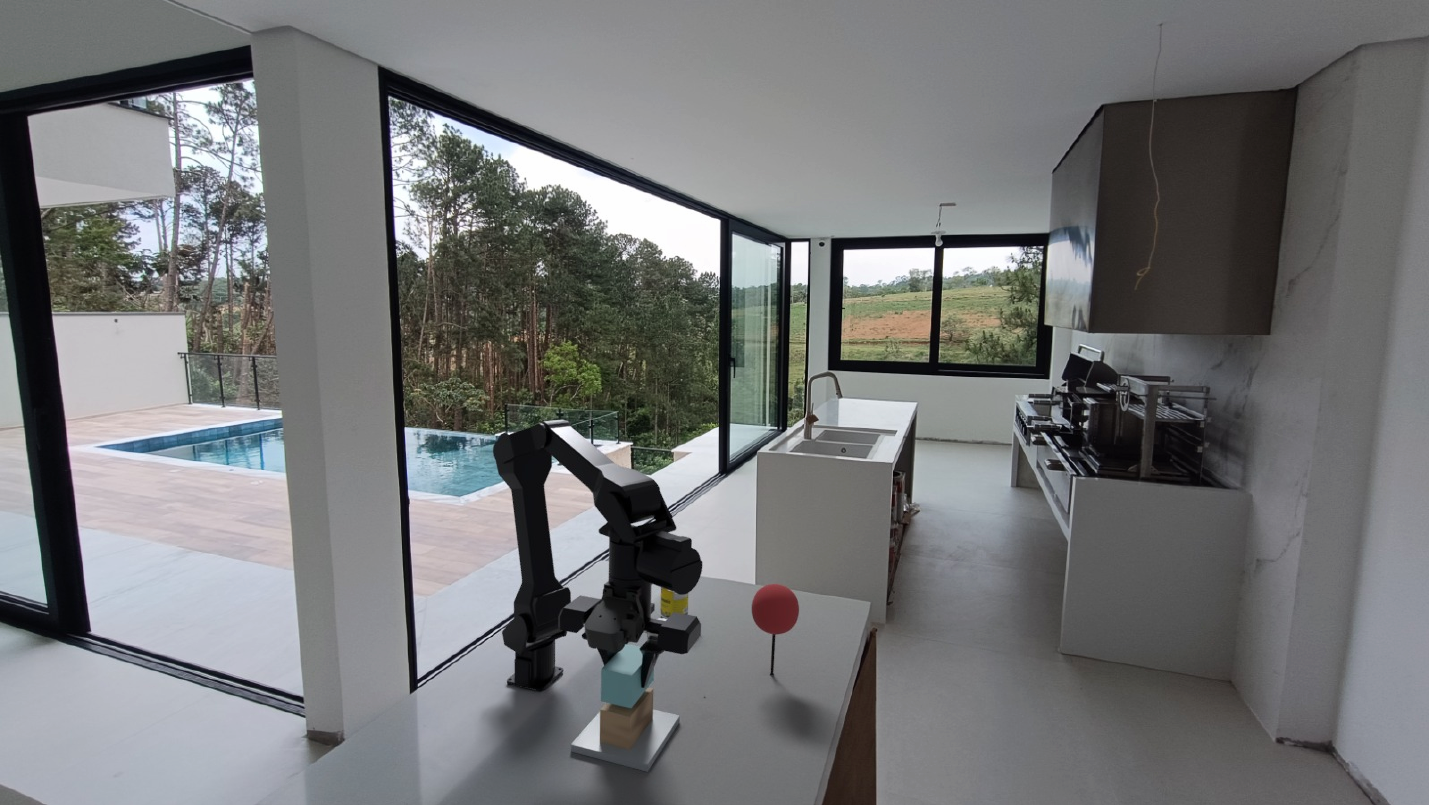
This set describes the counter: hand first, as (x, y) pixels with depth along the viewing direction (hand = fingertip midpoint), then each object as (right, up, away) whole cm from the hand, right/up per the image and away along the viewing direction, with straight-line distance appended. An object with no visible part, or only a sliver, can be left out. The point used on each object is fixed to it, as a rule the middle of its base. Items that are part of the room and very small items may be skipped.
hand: (628, 683), depth 86 cm
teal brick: (0, -1, 0) cm, 1 cm away
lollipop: (+21, -7, +18) cm, 29 cm away
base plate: (0, -8, +1) cm, 8 cm away
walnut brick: (0, -7, +1) cm, 7 cm away
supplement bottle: (+4, -4, +38) cm, 39 cm away
